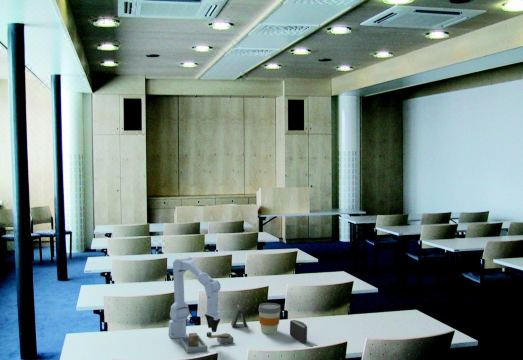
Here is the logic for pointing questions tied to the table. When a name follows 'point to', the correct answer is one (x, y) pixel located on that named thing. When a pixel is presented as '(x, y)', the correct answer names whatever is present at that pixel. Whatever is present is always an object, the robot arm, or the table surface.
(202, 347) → the tray
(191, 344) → the block
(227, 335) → the crank
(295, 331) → the leaning round-cornered charcoal block
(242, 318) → the phone stand
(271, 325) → the reusable coffee cup
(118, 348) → the table surface
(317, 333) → the table surface
